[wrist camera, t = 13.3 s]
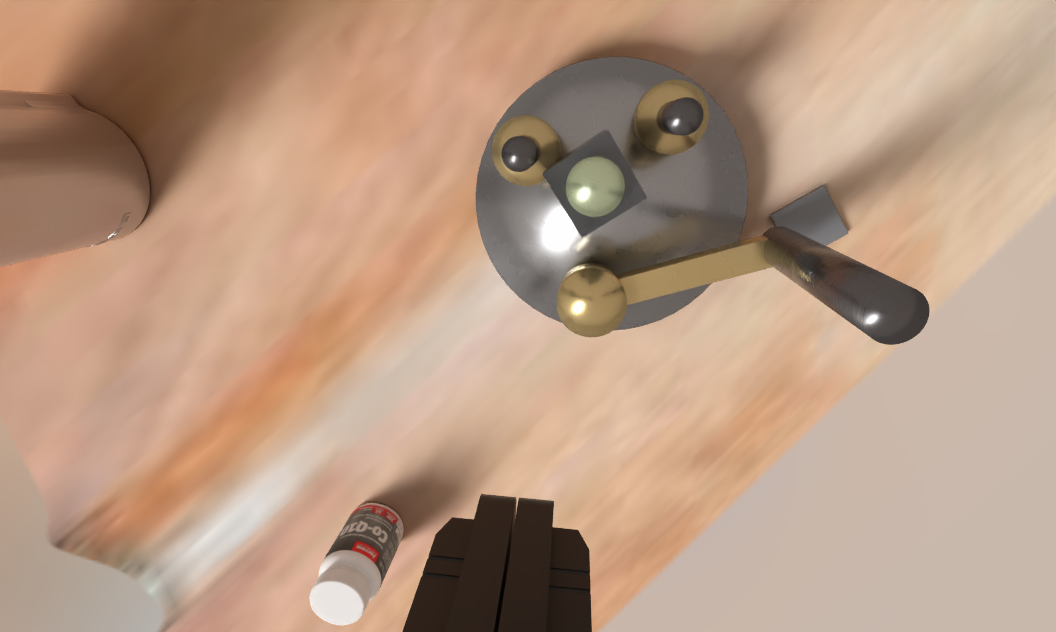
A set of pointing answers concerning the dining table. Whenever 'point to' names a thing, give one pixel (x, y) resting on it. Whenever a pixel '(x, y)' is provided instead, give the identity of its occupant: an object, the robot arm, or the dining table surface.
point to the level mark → (812, 217)
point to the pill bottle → (356, 564)
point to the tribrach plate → (635, 234)
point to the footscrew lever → (833, 278)
